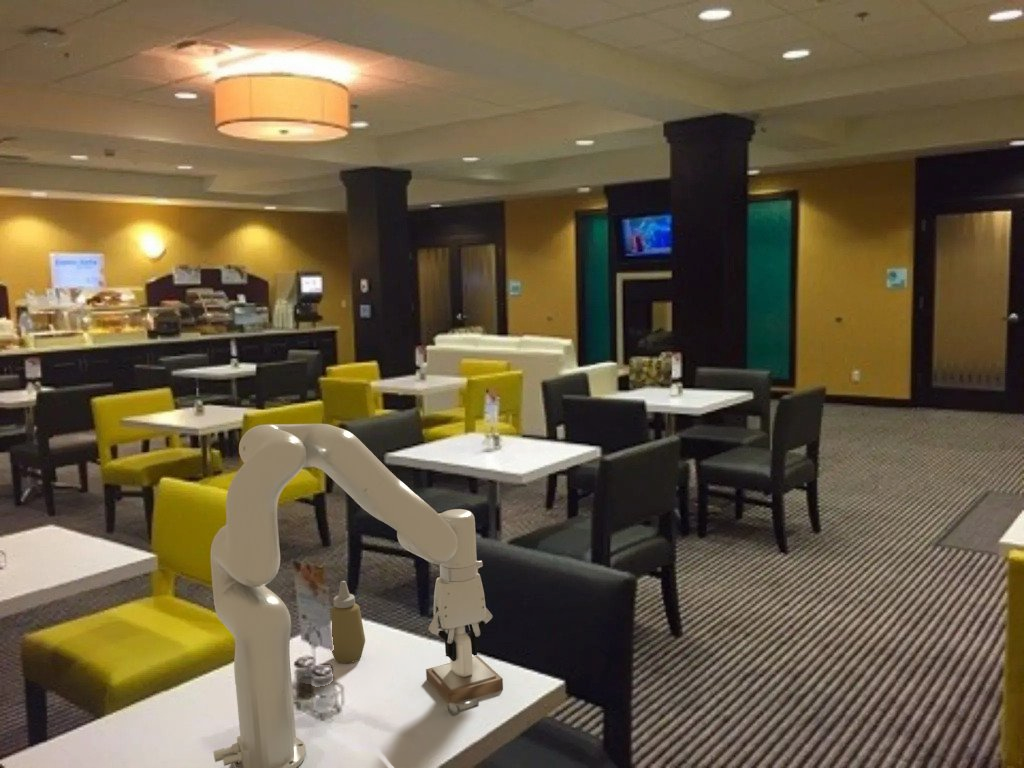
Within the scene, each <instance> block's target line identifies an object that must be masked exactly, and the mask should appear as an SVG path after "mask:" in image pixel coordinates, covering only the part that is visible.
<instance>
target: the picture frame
mask: <svg viewBox="0 0 1024 768" xmlns="http://www.w3.org/2000/svg"><path fill="white" fill-rule="evenodd" d="M472 662H473V674H472V675H469V676H467V677H462V676H458V675H456V674H455V673H453V671H452V669H451V662H449V663H448V662H447V663H445V664H442V665H438V666H433V667H429V668H426V669H425V676H426V681H427V682H428V683H429V684H430V686H431V687H432V688H433V689H434V690H435V691H436V692H437V693H438V694H439V696H440V697H441V698H442V699H443V700H444V702H446V704H448V703H451V702H455V703H456V704H459V703H462V702H466V701H469V700H473V699H476V698H478V697H482V696H485V695H488V694H492V693H496V692H498V691H502V690H504V683H503V679H504V678H503V677H502V676H501V675H500V674H498V673H497V671H495V670H494V669H493V668H492V667H491V666H490V665H489V664H487V662H485V661H484V660H483V658H481V657H480V656H479V655H476V656H474V655H473V656H472Z"/></svg>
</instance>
